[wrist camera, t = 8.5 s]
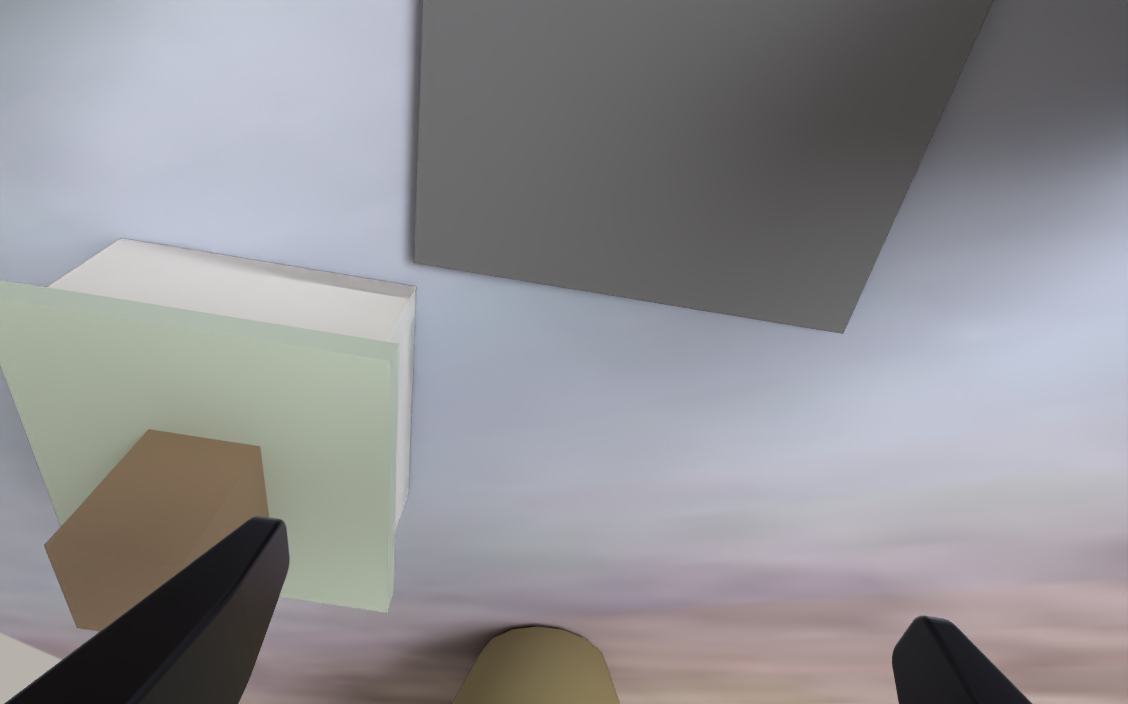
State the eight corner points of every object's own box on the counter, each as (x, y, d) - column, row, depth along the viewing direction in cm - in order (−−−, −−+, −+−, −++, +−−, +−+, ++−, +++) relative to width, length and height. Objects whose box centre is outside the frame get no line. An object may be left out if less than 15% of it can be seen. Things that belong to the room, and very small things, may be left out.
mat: (1080, -219, 14) (1093, -223, 13) (839, 326, 21) (843, 333, 20) (439, -345, 13) (434, -351, 13) (417, 257, 20) (413, 262, 20)
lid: (398, 343, 17) (334, 474, 13) (393, 592, 23) (346, 738, 19) (-1, 279, 17) (-193, 394, 13) (91, 547, 22) (-23, 686, 18)
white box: (416, 286, 21) (378, 358, 17) (408, 494, 26) (378, 581, 22) (121, 238, 20) (24, 301, 17) (170, 457, 25) (103, 540, 22)
